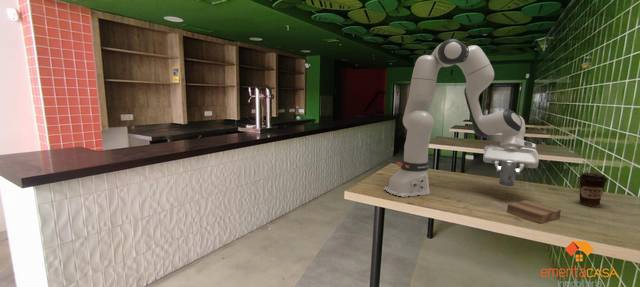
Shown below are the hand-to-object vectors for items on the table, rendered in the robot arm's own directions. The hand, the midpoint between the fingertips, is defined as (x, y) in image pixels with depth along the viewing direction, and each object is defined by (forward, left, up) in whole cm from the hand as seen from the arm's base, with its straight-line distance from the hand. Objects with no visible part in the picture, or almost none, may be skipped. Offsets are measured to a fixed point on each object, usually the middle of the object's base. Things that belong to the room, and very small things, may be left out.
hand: (507, 172), depth 123 cm
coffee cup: (+27, -18, -13) cm, 35 cm away
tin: (0, 0, -5) cm, 5 cm away
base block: (-5, -14, -13) cm, 20 cm away
